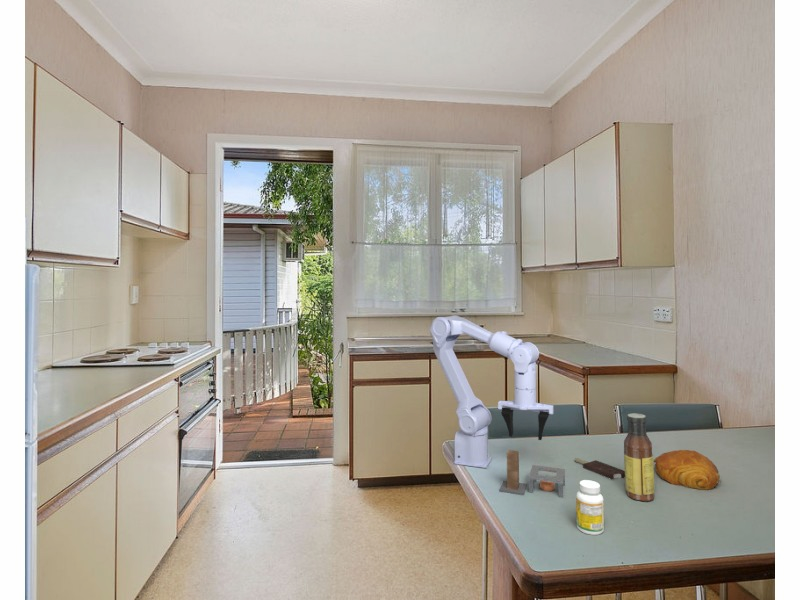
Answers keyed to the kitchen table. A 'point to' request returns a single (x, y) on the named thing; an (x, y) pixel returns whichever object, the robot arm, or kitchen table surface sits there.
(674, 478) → the croissant
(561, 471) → the guard frame
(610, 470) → the ice cream bar
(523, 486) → the pad
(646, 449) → the sauce bottle
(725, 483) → the kitchen table surface
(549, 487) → the button
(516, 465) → the stylus stick
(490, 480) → the kitchen table surface
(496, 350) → the robot arm
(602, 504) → the supplement bottle
